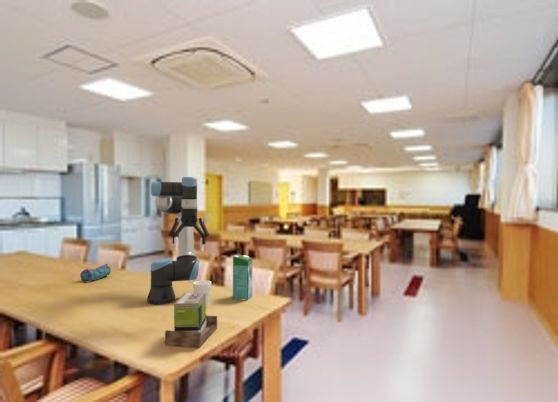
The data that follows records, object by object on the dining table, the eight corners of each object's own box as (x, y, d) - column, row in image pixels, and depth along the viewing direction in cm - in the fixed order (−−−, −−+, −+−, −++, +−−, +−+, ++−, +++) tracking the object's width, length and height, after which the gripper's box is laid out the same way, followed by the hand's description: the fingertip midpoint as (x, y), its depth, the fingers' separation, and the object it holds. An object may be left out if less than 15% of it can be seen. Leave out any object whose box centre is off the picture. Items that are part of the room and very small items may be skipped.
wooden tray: (165, 345, 129) (165, 331, 129) (187, 326, 149) (187, 314, 149) (199, 348, 126) (199, 333, 127) (217, 328, 147) (217, 315, 147)
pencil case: (91, 283, 229) (91, 269, 229) (79, 282, 231) (79, 268, 231) (111, 276, 250) (111, 263, 250) (100, 276, 251) (101, 263, 251)
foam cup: (214, 305, 180) (214, 281, 180) (205, 310, 171) (205, 285, 171) (199, 303, 183) (199, 279, 183) (189, 308, 174) (189, 283, 175)
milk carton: (247, 300, 189) (248, 256, 189) (232, 299, 191) (233, 256, 191) (252, 296, 198) (252, 254, 198) (237, 295, 200) (238, 253, 200)
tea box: (183, 326, 145) (184, 292, 145) (206, 326, 145) (207, 292, 145) (173, 340, 130) (173, 302, 130) (199, 340, 130) (199, 302, 130)
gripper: (162, 208, 163) (161, 251, 163) (210, 208, 160) (210, 252, 159) (169, 207, 171) (169, 249, 171) (215, 208, 167) (215, 250, 167)
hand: (189, 250), depth 165 cm, fingers open, 13 cm apart
